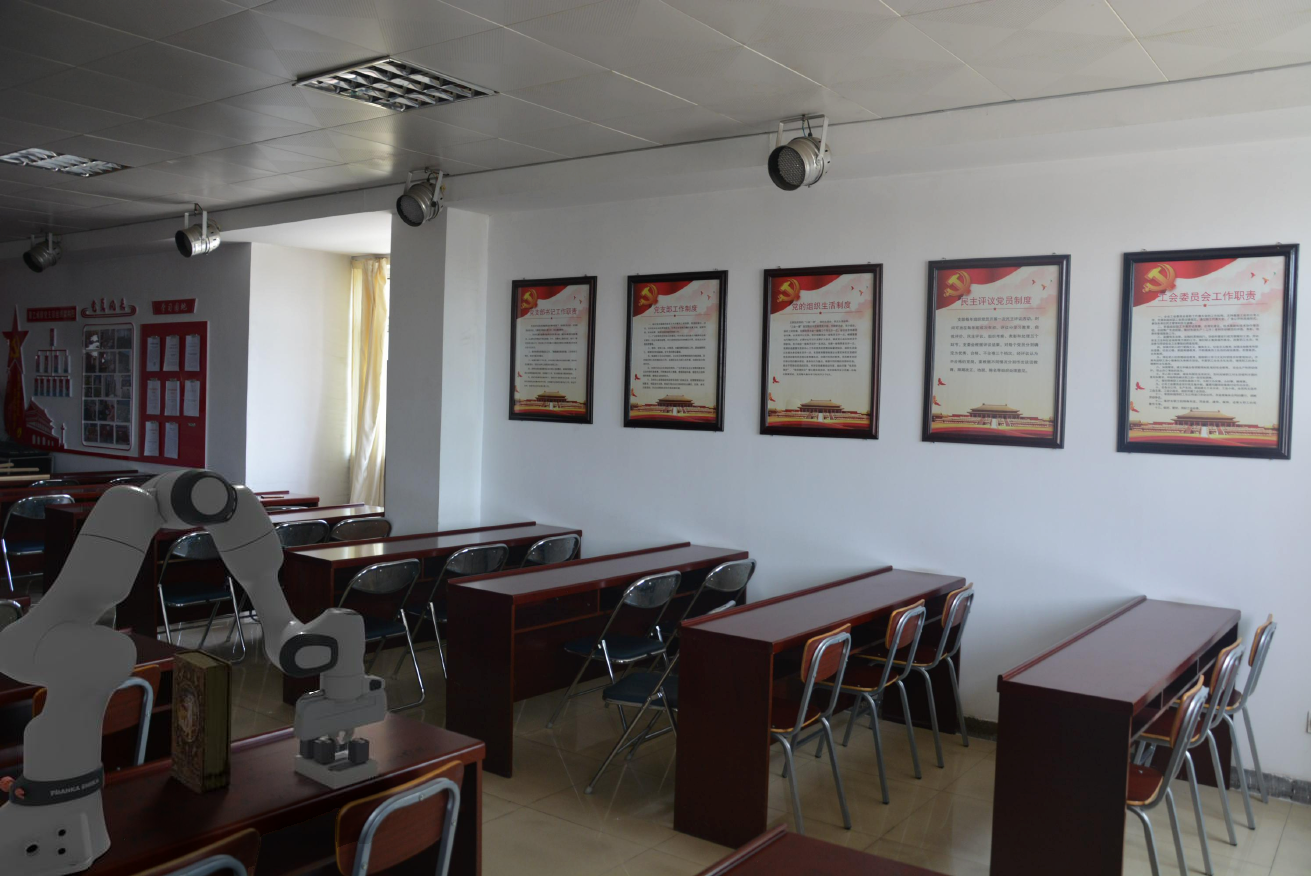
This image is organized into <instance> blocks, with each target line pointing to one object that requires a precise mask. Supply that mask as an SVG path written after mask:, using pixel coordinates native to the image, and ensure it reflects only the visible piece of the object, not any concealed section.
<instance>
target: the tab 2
mask: <svg viewBox="0 0 1311 876" xmlns="http://www.w3.org/2000/svg"><path fill="white" fill-rule="evenodd" d="M369 758H370V740H368V739H365V738H363V737H354V738H353V737H352V739H351V740H350V741H348V761H351V762H353V763H355V764H357V763H361V762H364V761H367V760H369Z"/></svg>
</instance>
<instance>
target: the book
mask: <svg viewBox="0 0 1311 876" xmlns="http://www.w3.org/2000/svg"><path fill="white" fill-rule="evenodd" d="M172 658H173V659H172V709H171V710H172V711H171V712H172V713H171V714H172V715H171V717H172V718H171V763H170V764H171V769H170V770H171V771H170V776H171V777H173V776H174V777H173V778H175V779H176V778H177V779H176V780H177V781H179V780H180V781H179V782H180V783H182V784H183V785H185V786H186V787H188V788H189V789H191V790H192V791H194V792H196V793H197V794H199V795H203V794H205V792H208V791H211V790H215V789H221V788H229V787H230V785H231V771H232V770H231V767H232V765H231V764H232V763H231V762H232V761H231V760H232V759H231V757H232V756H231V755H232V700H233V699H232V698H233V696H232V695H233V694H232V693H233V688H232V687H233V664H232V663H231V662H229V661H227V660H226V659H225V660H224V659H223V658H220V657H218V656H216V655H214V654H212V653H209V652H206V651H204V650H202V649H190V650H182V651H178V652H174V653H173V655H172Z"/></svg>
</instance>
